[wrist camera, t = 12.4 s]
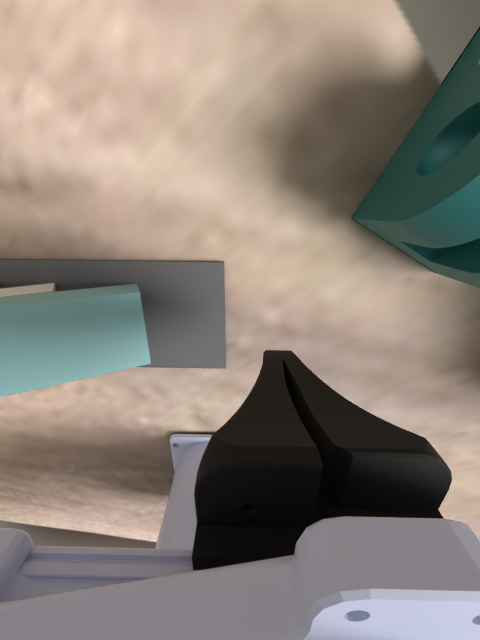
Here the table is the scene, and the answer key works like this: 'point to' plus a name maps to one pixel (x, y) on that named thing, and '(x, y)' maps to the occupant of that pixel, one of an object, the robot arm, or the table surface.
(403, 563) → the robot arm
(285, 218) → the table surface
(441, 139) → the bracket
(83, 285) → the mat
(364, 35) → the table surface
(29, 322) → the tile
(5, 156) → the table surface
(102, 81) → the table surface
